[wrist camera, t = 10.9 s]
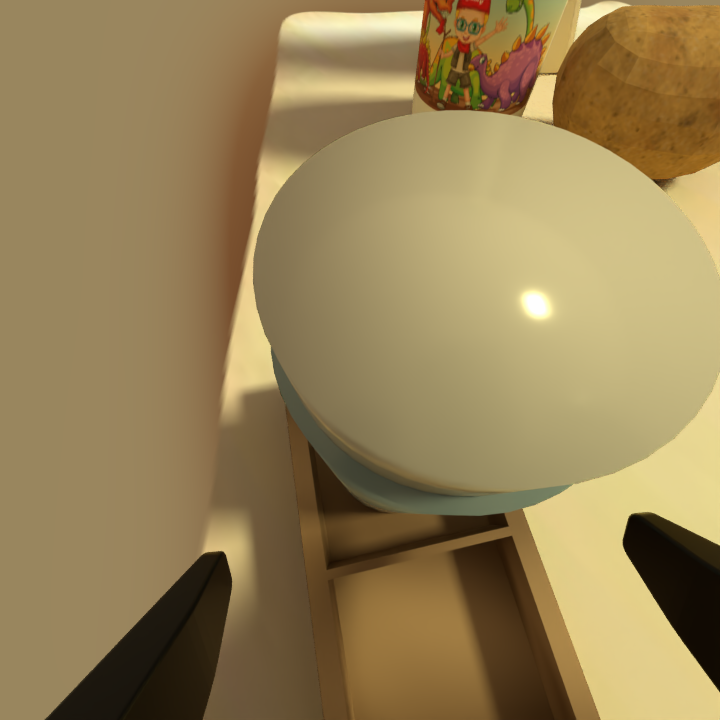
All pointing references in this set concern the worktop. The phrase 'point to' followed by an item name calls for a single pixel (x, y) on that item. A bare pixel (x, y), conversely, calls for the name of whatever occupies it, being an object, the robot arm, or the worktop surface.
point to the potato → (646, 87)
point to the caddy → (430, 611)
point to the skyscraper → (562, 38)
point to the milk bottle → (482, 53)
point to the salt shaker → (482, 311)
